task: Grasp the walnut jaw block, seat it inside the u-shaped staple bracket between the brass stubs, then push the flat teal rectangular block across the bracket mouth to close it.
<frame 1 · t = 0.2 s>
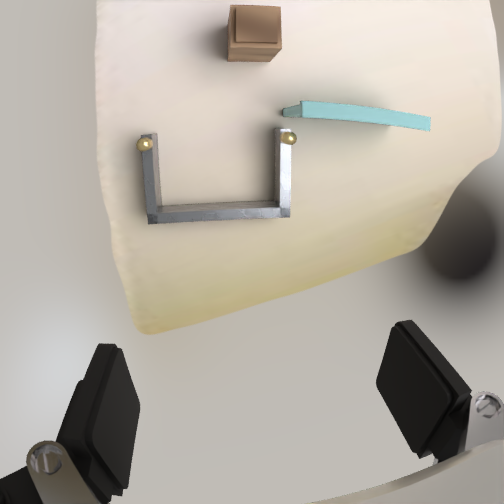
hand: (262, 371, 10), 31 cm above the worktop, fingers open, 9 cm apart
jaw block: (248, 42, 31), on the worktop
flat teal rectangular block: (355, 115, 32), point 4 cm above the worktop, slide at 15.5 cm
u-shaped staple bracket: (217, 170, 37), on the worktop
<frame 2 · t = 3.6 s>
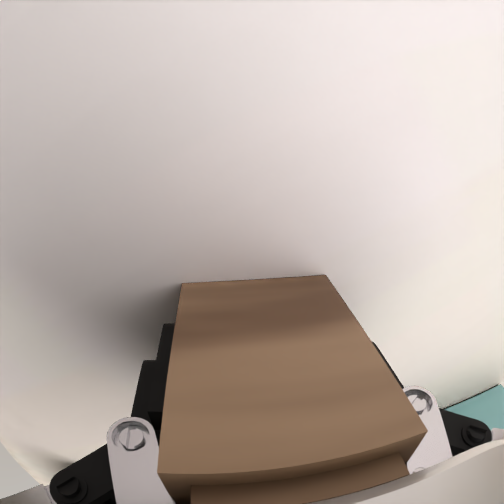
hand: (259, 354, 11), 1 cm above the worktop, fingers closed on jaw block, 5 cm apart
jaw block: (255, 337, 12), on the worktop, touching gripper
flat teal rectangular block: (457, 466, 12), point 5 cm above the worktop, slide at 15.5 cm
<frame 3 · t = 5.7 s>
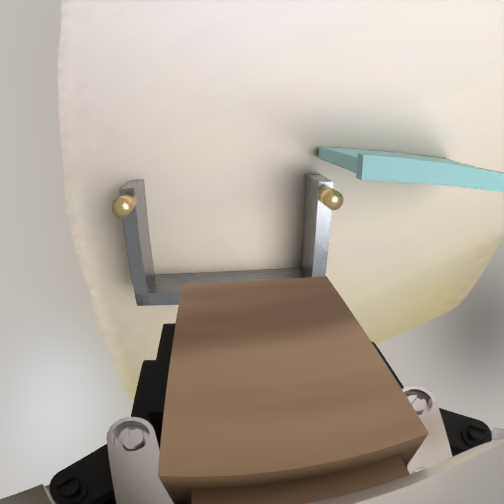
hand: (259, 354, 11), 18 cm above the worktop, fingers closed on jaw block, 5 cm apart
jaw block: (256, 339, 12), point 17 cm above the worktop, touching gripper
flat teal rectangular block: (418, 164, 23), point 5 cm above the worktop, slide at 15.5 cm
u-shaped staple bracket: (226, 231, 28), on the worktop
when the fingers open (3 cm above the worktop, at t = 7.9 s): jaw block drops 2 cm, on the worktop.
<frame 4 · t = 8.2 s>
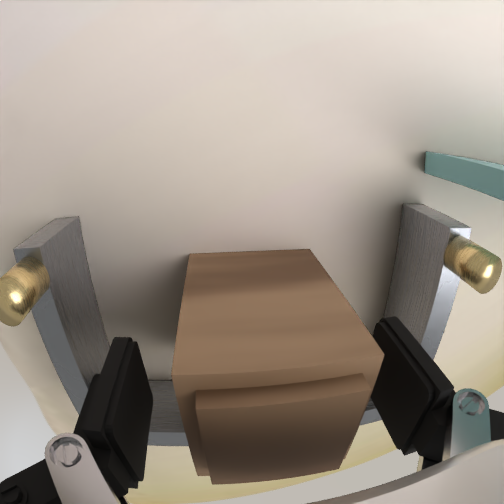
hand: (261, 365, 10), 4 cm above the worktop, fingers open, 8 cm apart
jaw block: (250, 303, 14), on the worktop
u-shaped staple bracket: (249, 314, 14), on the worktop
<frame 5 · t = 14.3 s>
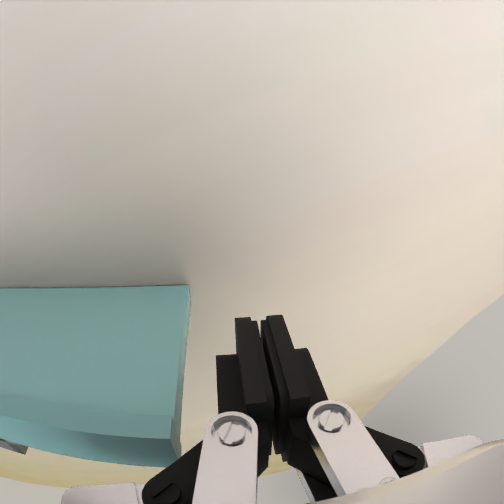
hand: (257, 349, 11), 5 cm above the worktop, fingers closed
flat teal rectangular block: (17, 346, 10), point 5 cm above the worktop, slide at 15.3 cm, touching gripper
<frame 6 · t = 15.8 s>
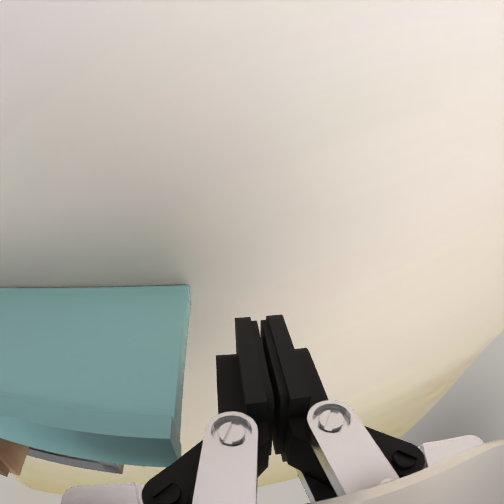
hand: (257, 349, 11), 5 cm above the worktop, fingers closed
jaw block: (10, 372, 16), on the worktop
flat teal rectangular block: (17, 345, 10), point 4 cm above the worktop, slide at 6.8 cm, touching gripper
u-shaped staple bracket: (12, 378, 16), on the worktop
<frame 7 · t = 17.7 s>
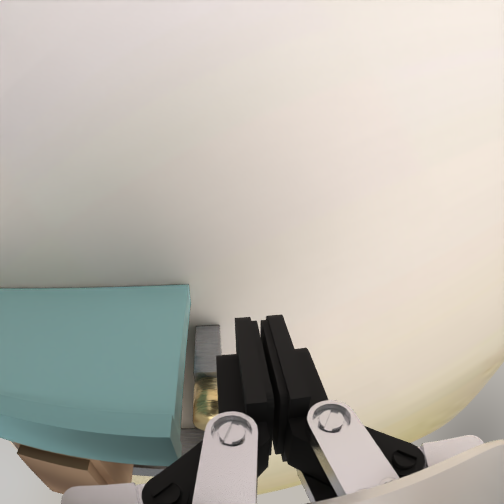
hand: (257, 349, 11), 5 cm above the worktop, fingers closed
jaw block: (97, 383, 17), on the worktop
flat teal rectangular block: (18, 346, 10), point 5 cm above the worktop, slide at -0.6 cm, touching gripper
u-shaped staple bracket: (98, 389, 17), on the worktop
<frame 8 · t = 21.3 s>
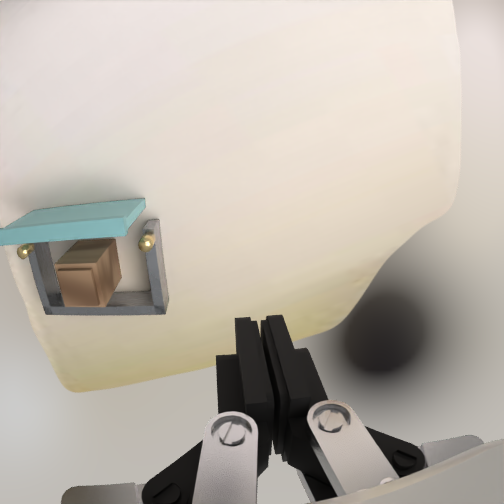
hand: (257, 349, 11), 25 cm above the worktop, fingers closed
jaw block: (99, 259, 35), on the worktop
flat teal rectangular block: (69, 219, 28), point 5 cm above the worktop, slide at -0.7 cm
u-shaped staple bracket: (99, 263, 35), on the worktop
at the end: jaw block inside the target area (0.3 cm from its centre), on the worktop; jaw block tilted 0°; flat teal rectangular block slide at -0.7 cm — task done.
